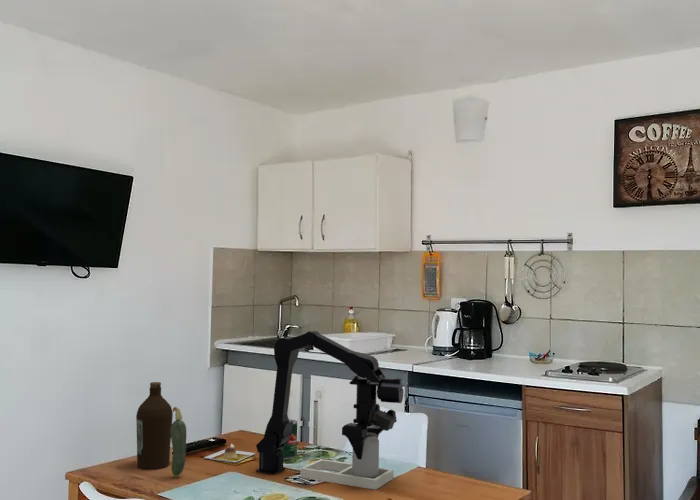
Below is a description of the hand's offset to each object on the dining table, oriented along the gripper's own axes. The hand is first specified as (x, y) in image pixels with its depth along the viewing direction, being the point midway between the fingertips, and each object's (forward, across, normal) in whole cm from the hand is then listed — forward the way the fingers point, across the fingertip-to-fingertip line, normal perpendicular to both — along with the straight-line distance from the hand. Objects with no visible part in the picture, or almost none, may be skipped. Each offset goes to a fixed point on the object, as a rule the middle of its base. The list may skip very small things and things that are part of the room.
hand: (365, 456), depth 189 cm
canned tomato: (+7, +12, +35) cm, 38 cm away
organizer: (+7, 0, +6) cm, 9 cm away
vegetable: (+7, -24, +48) cm, 54 cm away
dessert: (+8, +2, +49) cm, 50 cm away
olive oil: (+8, -18, +63) cm, 66 cm away
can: (+6, 0, 0) cm, 6 cm away
